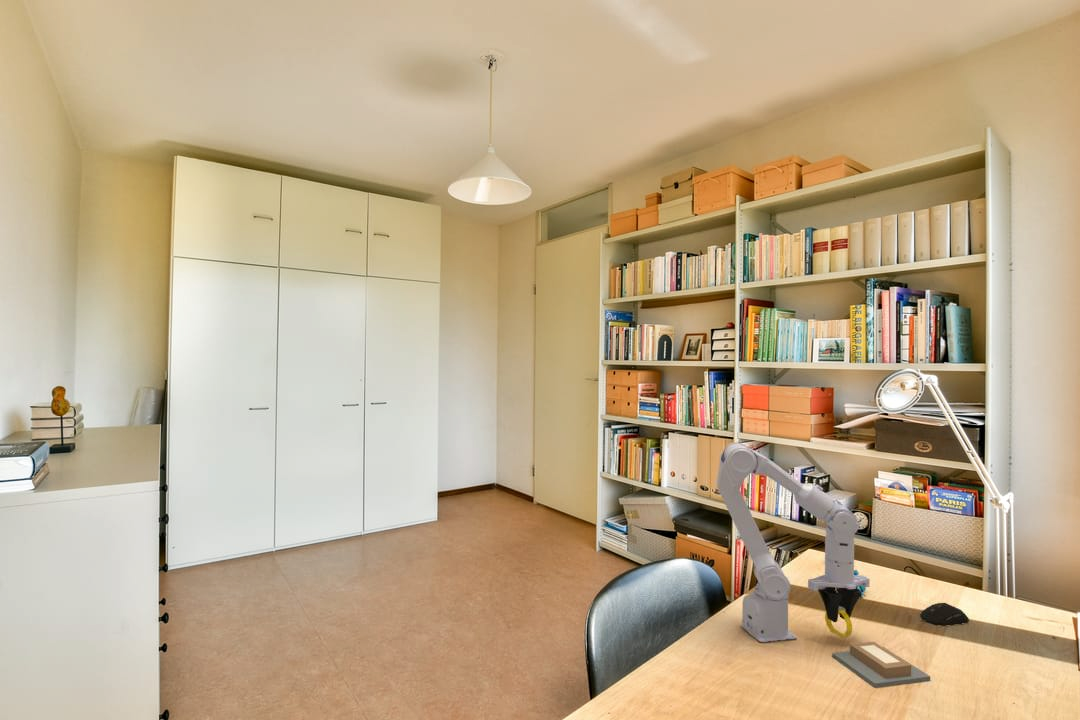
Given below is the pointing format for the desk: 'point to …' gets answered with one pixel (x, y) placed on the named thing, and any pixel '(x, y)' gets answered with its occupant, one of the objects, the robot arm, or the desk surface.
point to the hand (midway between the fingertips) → (838, 619)
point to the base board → (876, 676)
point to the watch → (847, 620)
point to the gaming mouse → (943, 615)
